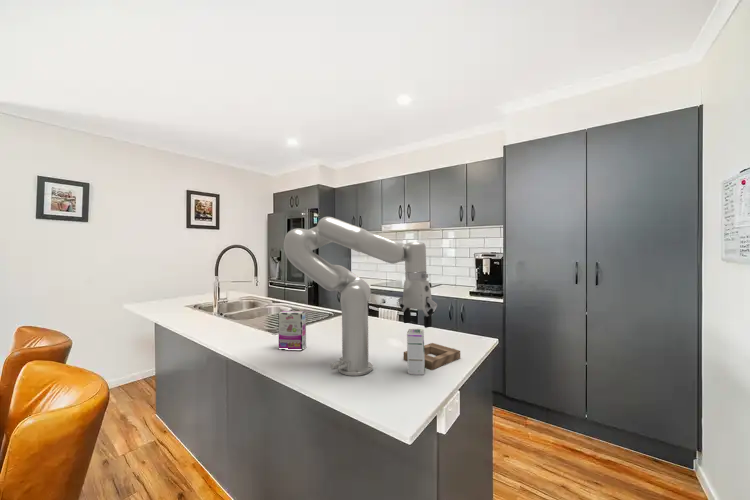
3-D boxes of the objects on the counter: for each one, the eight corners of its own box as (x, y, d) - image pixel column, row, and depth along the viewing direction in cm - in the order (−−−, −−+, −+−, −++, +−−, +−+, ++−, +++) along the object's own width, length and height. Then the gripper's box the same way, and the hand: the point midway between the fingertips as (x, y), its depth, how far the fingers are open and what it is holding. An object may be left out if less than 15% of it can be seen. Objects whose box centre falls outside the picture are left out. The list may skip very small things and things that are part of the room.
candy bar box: (306, 347, 133) (306, 311, 133) (302, 351, 128) (301, 313, 128) (283, 346, 135) (283, 310, 135) (277, 350, 130) (277, 312, 130)
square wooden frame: (431, 370, 107) (431, 361, 107) (403, 359, 118) (403, 352, 118) (460, 358, 119) (460, 350, 119) (432, 349, 129) (432, 342, 129)
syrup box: (424, 375, 103) (423, 333, 103) (407, 374, 104) (406, 332, 104) (424, 368, 108) (424, 329, 108) (408, 367, 109) (408, 328, 109)
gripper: (442, 277, 102) (443, 327, 102) (405, 275, 115) (406, 319, 115) (428, 278, 97) (429, 331, 97) (391, 276, 110) (392, 322, 110)
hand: (417, 324), depth 106 cm, fingers open, 9 cm apart
